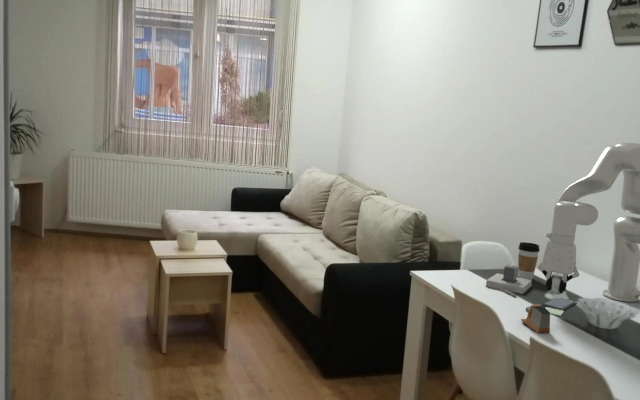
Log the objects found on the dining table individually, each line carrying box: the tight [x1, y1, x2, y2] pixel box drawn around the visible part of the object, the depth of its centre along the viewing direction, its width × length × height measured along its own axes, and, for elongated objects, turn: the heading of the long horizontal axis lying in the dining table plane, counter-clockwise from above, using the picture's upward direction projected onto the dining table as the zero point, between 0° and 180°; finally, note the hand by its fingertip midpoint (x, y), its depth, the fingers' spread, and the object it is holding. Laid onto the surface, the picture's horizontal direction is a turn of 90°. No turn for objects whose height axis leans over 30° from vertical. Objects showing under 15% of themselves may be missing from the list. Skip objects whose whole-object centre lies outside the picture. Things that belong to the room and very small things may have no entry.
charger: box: [503, 264, 518, 283], centre depth 233 cm, size 4×4×8 cm
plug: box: [549, 273, 563, 295], centre depth 203 cm, size 4×4×6 cm
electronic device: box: [520, 303, 551, 334], centre depth 187 cm, size 4×10×8 cm, turn 14°
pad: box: [544, 307, 565, 317], centre depth 204 cm, size 6×6×1 cm
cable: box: [501, 289, 518, 298], centre depth 223 cm, size 8×1×1 cm, turn 19°
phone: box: [541, 297, 577, 311], centre depth 214 cm, size 7×14×1 cm, turn 138°
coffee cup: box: [517, 241, 540, 281], centre depth 246 cm, size 8×8×15 cm
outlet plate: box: [485, 272, 533, 295], centre depth 233 cm, size 14×14×2 cm
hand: (555, 290), depth 203 cm, fingers closed on plug, 3 cm apart
